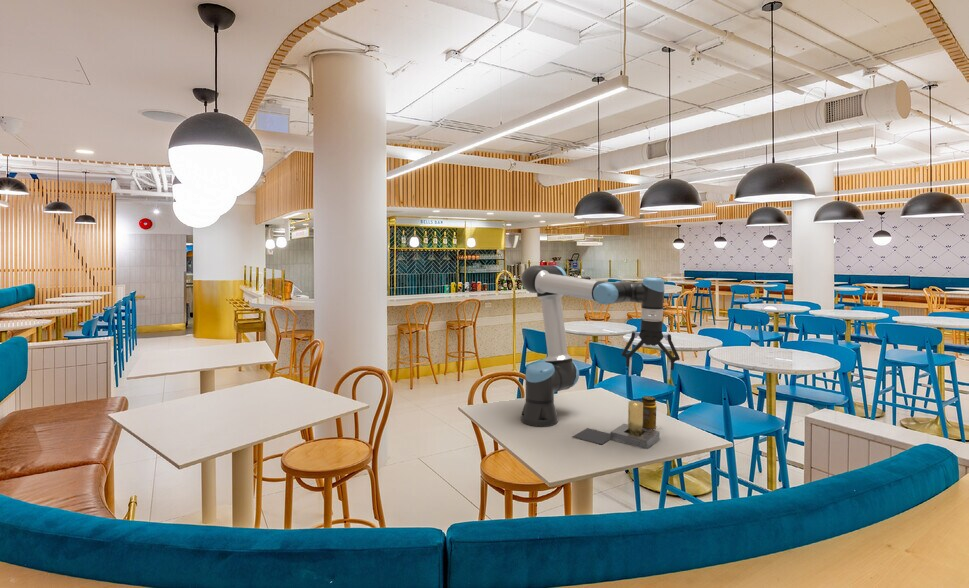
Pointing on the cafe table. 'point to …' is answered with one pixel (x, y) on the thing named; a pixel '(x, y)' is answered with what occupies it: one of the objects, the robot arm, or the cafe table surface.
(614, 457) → the cafe table surface
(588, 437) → the mat
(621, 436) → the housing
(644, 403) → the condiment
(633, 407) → the gold rounded cylinder
